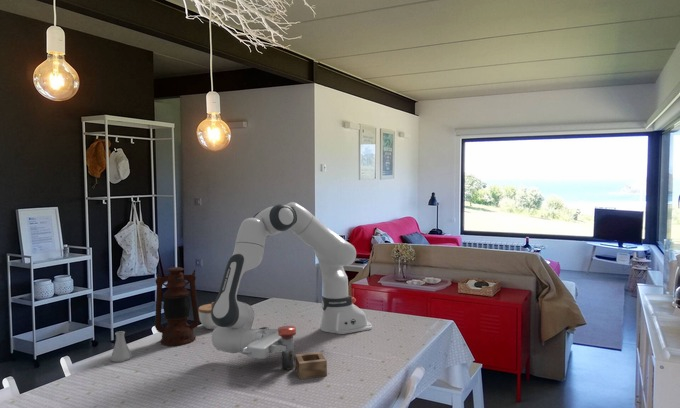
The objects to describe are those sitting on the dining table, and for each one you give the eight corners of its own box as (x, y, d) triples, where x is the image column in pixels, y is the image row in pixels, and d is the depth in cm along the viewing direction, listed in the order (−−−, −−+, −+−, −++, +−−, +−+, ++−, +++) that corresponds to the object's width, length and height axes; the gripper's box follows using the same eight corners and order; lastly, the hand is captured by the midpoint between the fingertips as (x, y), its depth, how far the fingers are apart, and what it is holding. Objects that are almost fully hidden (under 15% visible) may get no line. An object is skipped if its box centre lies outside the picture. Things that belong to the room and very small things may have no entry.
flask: (136, 356, 185) (135, 330, 185) (121, 363, 178) (120, 336, 178) (120, 354, 188) (119, 328, 187) (105, 361, 181) (104, 334, 180)
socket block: (321, 365, 171) (320, 351, 171) (326, 375, 163) (326, 360, 162) (295, 368, 169) (295, 354, 169) (299, 378, 160) (299, 363, 160)
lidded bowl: (233, 324, 225) (232, 300, 225) (215, 332, 214) (214, 306, 213) (211, 321, 230) (210, 298, 230) (192, 329, 219) (192, 304, 219)
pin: (295, 363, 174) (294, 325, 173) (298, 369, 168) (297, 330, 167) (278, 364, 172) (277, 326, 172) (280, 371, 166) (279, 331, 166)
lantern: (156, 348, 194) (153, 272, 192) (155, 338, 206) (152, 267, 205) (201, 342, 200) (199, 268, 199) (198, 333, 213) (195, 264, 212)
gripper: (238, 342, 164) (275, 346, 160) (267, 325, 183) (301, 328, 179) (238, 361, 165) (276, 365, 160) (268, 342, 184) (302, 345, 179)
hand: (289, 345), depth 169 cm, fingers closed on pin, 4 cm apart
